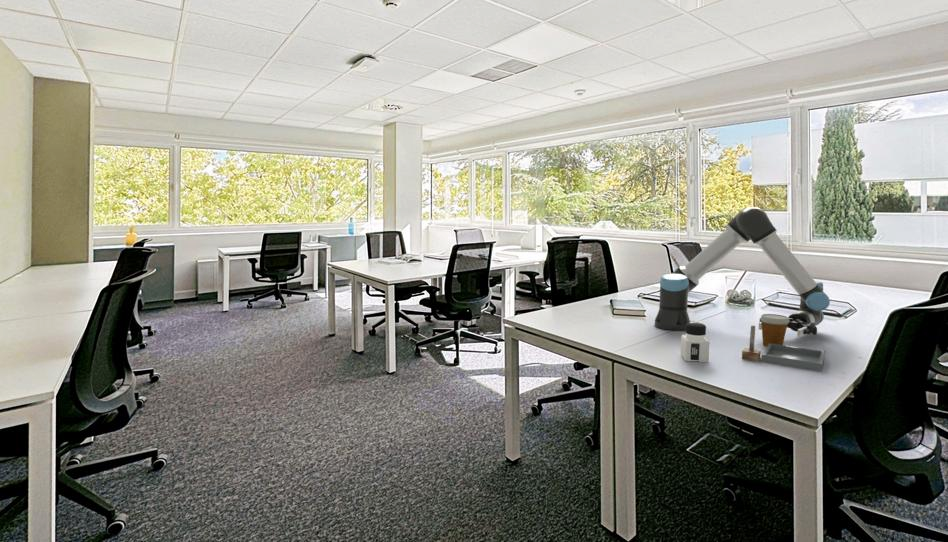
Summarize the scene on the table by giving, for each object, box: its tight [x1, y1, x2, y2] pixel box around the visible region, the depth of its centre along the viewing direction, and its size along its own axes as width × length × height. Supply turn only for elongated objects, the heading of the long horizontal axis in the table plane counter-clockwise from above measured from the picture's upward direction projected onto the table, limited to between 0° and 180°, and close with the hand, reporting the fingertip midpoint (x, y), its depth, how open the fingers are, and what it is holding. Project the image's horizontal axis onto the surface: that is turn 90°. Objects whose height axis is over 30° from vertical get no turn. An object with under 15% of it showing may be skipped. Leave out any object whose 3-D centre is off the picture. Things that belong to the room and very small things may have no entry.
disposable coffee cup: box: [759, 313, 789, 348], centre depth 182 cm, size 10×10×12 cm
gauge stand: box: [741, 324, 761, 362], centre depth 168 cm, size 5×5×12 cm
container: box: [680, 321, 711, 363], centre depth 169 cm, size 8×8×13 cm
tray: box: [761, 343, 826, 372], centre depth 167 cm, size 17×17×3 cm
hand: (778, 329), depth 183 cm, fingers open, 13 cm apart
